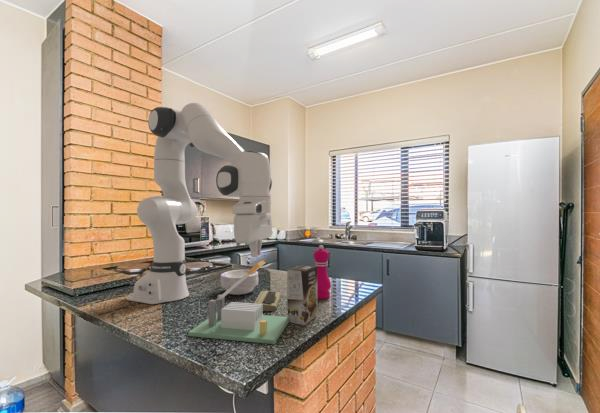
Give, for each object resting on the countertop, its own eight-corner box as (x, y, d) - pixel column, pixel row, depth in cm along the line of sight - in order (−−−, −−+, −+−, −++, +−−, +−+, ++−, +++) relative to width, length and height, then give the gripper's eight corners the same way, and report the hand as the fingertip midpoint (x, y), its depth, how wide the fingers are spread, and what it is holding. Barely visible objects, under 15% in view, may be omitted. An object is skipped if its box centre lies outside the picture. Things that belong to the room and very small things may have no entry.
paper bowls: (213, 292, 118) (213, 273, 118) (242, 285, 130) (242, 267, 130) (236, 300, 108) (236, 278, 108) (266, 291, 120) (265, 272, 120)
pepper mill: (309, 298, 110) (309, 245, 110) (315, 293, 116) (315, 243, 117) (327, 300, 107) (327, 246, 107) (333, 295, 114) (332, 244, 114)
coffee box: (305, 326, 84) (305, 271, 84) (286, 322, 87) (286, 269, 87) (318, 316, 92) (318, 265, 92) (300, 313, 95) (300, 264, 95)
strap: (212, 306, 82) (209, 303, 82) (220, 301, 87) (218, 298, 87) (259, 266, 79) (257, 262, 79) (265, 263, 84) (263, 259, 84)
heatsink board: (188, 335, 77) (188, 305, 77) (217, 314, 93) (217, 289, 93) (274, 344, 72) (274, 311, 72) (290, 320, 88) (290, 293, 88)
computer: (276, 312, 96) (276, 302, 96) (252, 312, 96) (252, 302, 96) (281, 298, 112) (281, 289, 112) (260, 298, 112) (260, 289, 112)
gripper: (257, 207, 93) (258, 250, 93) (229, 207, 73) (229, 262, 73) (276, 207, 92) (276, 251, 91) (252, 206, 72) (253, 262, 71)
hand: (255, 256), depth 82 cm, fingers closed
